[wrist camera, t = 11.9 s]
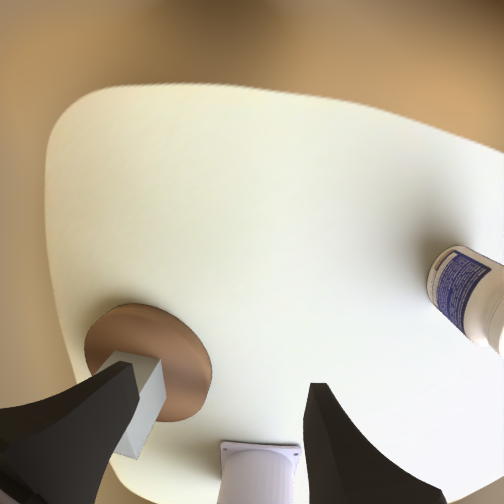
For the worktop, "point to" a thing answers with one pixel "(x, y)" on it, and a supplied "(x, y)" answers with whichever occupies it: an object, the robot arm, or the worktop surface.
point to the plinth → (155, 353)
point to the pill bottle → (470, 295)
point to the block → (141, 400)
